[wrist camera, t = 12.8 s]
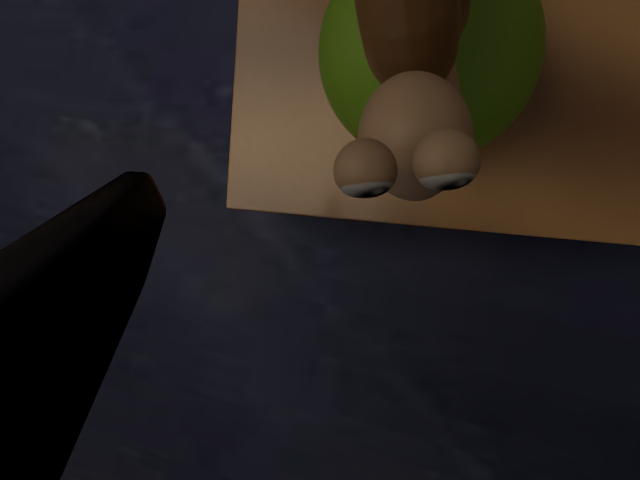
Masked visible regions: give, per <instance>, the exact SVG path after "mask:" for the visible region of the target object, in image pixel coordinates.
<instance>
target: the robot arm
mask: <svg viewBox="0 0 640 480" xmlns="http://www.w3.org/2000/svg"><path fill="white" fill-rule="evenodd" d="M165 215H166V206H165V203H164V200H163V198H162V196H161V194H160V192H159V190H158V188H157V186H156V184H155V182H154V180H153V178H152V177H151V176H150V175H149V174H148V173H145V172H133V171H129V172H125V173H123V174H122V175H120V176H118V177H117V178H115V179H114V180H112V181H110V182H109V183H107V184H106V185H104V186H102V187H101V188H99V189H98V190H96V191H94V192H93V193H91V194H90V195H88V196H86V197H85V198H83V199H82V200H80V201H78V202H77V203H75V204H74V205H72V206H70V207H69V208H67V209H66V210H64V211H62V212H61V213H59V214H58V215H56V216H54V217H53V218H51V219H50V220H48V221H46V222H45V223H43V224H42V225H40V226H38V227H37V228H35V229H34V230H32V231H30V232H29V233H27V234H26V235H24V236H22V237H21V238H19V239H18V240H16V241H14V242H13V243H11V244H10V245H8V246H6V247H5V248H3V249H2V250H0V480H60V478H61V476H62V474H63V471H64V469H65V467H66V464H67V462H68V460H69V457H70V455H71V453H72V451H73V448H74V446H75V444H76V441H77V439H78V437H79V434H80V432H81V430H82V427H83V425H84V423H85V420H86V418H87V416H88V414H89V411H90V409H91V407H92V404H93V402H94V400H95V397H96V395H97V393H98V390H99V388H100V386H101V383H102V381H103V379H104V377H105V374H106V372H107V370H108V367H109V365H110V363H111V360H112V358H113V356H114V353H115V351H116V349H117V347H118V344H119V342H120V340H121V337H122V335H123V333H124V330H125V328H126V326H127V323H128V321H129V319H130V316H131V314H132V312H133V310H134V307H135V305H136V303H137V300H138V298H139V296H140V293H141V291H142V288H143V286H144V283H145V280H146V277H147V274H148V271H149V268H150V265H151V261H152V258H153V255H154V252H155V248H156V245H157V242H158V239H159V235H160V232H161V229H162V226H163V222H164V219H165Z"/></svg>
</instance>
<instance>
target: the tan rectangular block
mask: <svg viewBox="0 0 640 480" xmlns="http://www.w3.org/2000/svg"><path fill="white" fill-rule="evenodd" d="M329 2H330V0H239V5H238V22H237V38H236V54H235V71H234V87H233V104H232V120H231V136H230V153H229V169H228V185H227V202H226V208H227V209H237V210H248V211H259V212H270V213H281V214H292V215H303V216H315V217H326V218H337V219H348V220H359V221H370V222H381V223H392V224H403V225H414V226H425V227H436V228H447V229H458V230H469V231H480V232H492V233H503V234H514V235H525V236H536V237H547V238H558V239H569V240H580V241H591V242H602V243H613V244H624V245H635V246H640V0H541V3H542V7H543V11H544V17H545V25H546V48H545V56H544V61H543V66H542V70H541V73H540V76H539V79H538V82H537V85H536V87H535V89H534V91H533V93H532V95H531V97H530V99H529V101H528V102H527V104H526V106H525V107H524V109H523V110H522V112H521V113H520V114H519V116H518V117H517V118H516V119H515V121H514V122H513V123H512V124H511V125H510V126H509V127H508V128H507V129H506V130H505V131H504V132H503V133H502V134H501V135H499V136H498V137H497V138H496V139H494V140H493V141H492V142H490V143H489V144H487V145H486V146H484V147H482V148H481V149H479V150H480V155H481V166H480V170H479V172H478V174H477V175H476V177H475V179H474V180H473V181H472V182H470V183H469V184H467V185H466V186H464V187H461V188H458V189H454V190H446V191H442V192H441V193H439V194H437V195H436V196H434V197H432V198H429V199H426V200H422V201H409V200H404V199H401V198H398V197H396V196H394V195H392V194H390V193H388V192H386V193H385V194H383V195H380V196H378V197H373V198H354V197H350V196H348V195H346V194H344V193H343V192H342V191H341V190H340V189H339V188H338V186H337V185H336V183H335V180H334V175H333V167H334V162H335V159H336V157H337V155H338V153H339V152H340V150H341V149H342V148H343V147H344V146H345V145H347V144H348V143H350V142H351V141H354V140H357V139H356V138H355V137H353V136H352V135H351V134H350V133H349V132H348V131H347V129H346V128H345V127H344V126H343V125H342V123H341V122H340V121H339V119H338V118H337V116H336V115H335V113H334V111H333V110H332V108H331V106H330V104H329V102H328V99H327V97H326V94H325V91H324V88H323V85H322V81H321V76H320V70H319V58H318V51H319V37H320V31H321V26H322V22H323V18H324V15H325V12H326V9H327V7H328V4H329Z"/></svg>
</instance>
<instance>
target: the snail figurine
mask: <svg viewBox="0 0 640 480" xmlns="http://www.w3.org/2000/svg"><path fill="white" fill-rule="evenodd" d="M545 48H546V25H545V17H544V11H543V7H542V3H541V0H330V2H329V4H328V7H327V9H326V12H325V15H324V18H323V22H322V26H321V31H320V37H319V51H318V58H319V70H320V76H321V81H322V85H323V88H324V91H325V94H326V97H327V99H328V102H329V104H330V106H331V108H332V110H333V111H334V113H335V115H336V116H337V118H338V119H339V121H340V122H341V123H342V125H343V126H344V127H345V128H346V129H347V131H348V132H349V133H350V134H351V135H352V136H353V137H355V138H356V139H357V140H354V141H351V142H350V143H348V144H347V145H345V146H344V147H343V148H342V149H341V150H340V152H339V153H338V155H337V157H336V159H335V162H334V167H333V175H334V180H335V183H336V185H337V186H338V188H339V189H340V190H341V191H342V192H343V193H344V194H346V195H348V196H350V197H354V198H373V197H378V196H380V195H383V194H385V193H386V192H388V193H390V194H392V195H394V196H396V197H398V198H401V199H404V200H409V201H422V200H426V199H429V198H432V197H434V196H436V195H437V194H439V193H441V192H442V191H446V190H454V189H458V188H461V187H464V186H466V185H467V184H469V183H470V182H472V181H473V180H474V179H475V177H476V175H477V174H478V172H479V170H480V166H481V155H480V150H479V149H481V148H482V147H484V146H486V145H487V144H489V143H490V142H492V141H493V140H494V139H496V138H497V137H498V136H499V135H501V134H502V133H503V132H504V131H505V130H506V129H507V128H508V127H509V126H510V125H511V124H512V123H513V122H514V121H515V119H516V118H517V117H518V116H519V114H520V113H521V112H522V110H523V109H524V107H525V106H526V104H527V102H528V101H529V99H530V97H531V95H532V93H533V91H534V89H535V87H536V85H537V82H538V79H539V76H540V73H541V70H542V66H543V61H544V56H545Z"/></svg>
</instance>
